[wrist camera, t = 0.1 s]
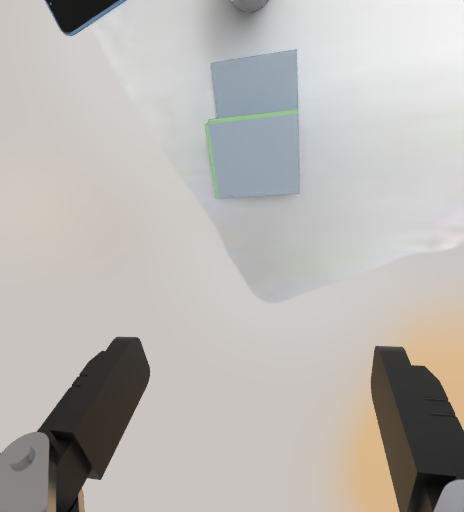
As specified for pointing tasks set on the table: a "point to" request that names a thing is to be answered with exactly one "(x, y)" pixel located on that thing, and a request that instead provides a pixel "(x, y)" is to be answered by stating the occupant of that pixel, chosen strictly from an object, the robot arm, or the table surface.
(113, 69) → the table surface
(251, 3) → the steel thermos flask
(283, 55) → the blue-grey stepped block
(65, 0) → the smartphone
